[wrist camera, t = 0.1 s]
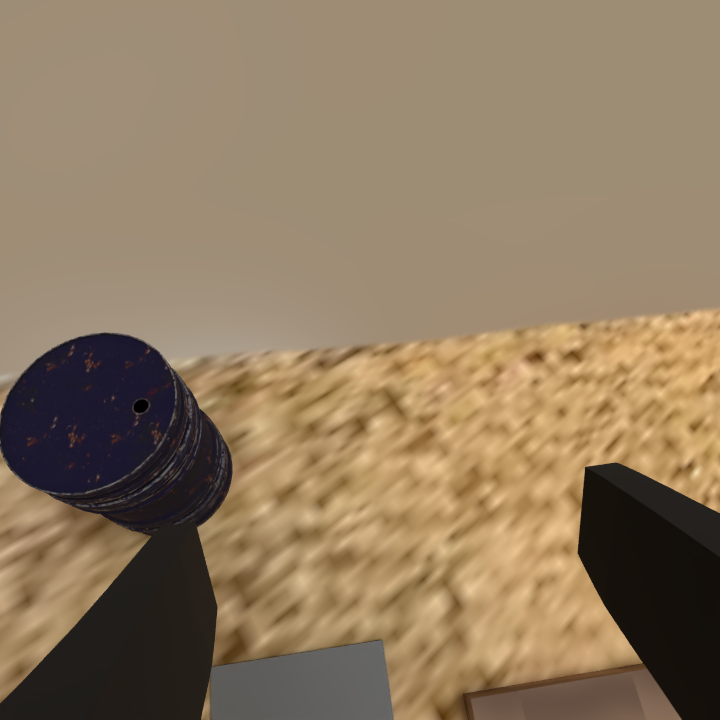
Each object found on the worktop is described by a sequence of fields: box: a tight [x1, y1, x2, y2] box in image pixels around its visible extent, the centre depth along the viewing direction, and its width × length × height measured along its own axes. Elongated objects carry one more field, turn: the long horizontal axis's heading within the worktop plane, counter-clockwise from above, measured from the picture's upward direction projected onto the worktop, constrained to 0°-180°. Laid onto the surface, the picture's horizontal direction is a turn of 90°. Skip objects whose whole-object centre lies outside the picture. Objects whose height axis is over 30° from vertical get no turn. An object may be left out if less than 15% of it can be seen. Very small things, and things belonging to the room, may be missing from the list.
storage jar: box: [0, 333, 232, 536], centre depth 36 cm, size 10×10×15 cm
